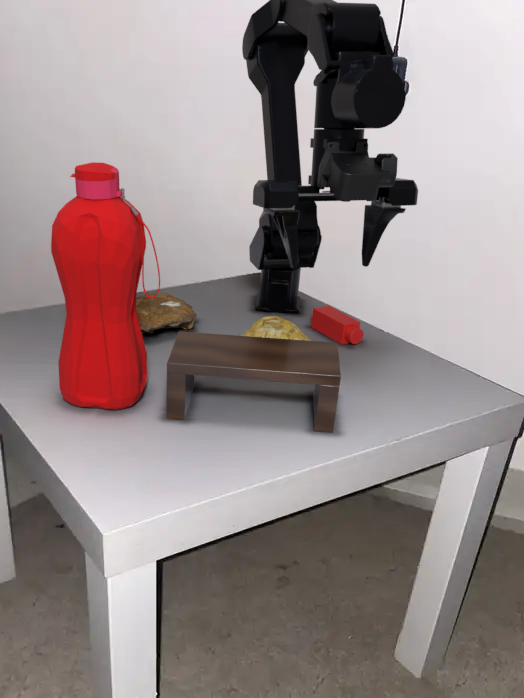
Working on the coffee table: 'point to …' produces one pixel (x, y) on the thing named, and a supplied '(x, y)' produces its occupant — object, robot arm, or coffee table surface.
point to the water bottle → (100, 291)
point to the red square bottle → (336, 325)
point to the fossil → (275, 329)
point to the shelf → (254, 368)
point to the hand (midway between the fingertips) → (329, 267)
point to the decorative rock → (163, 312)
